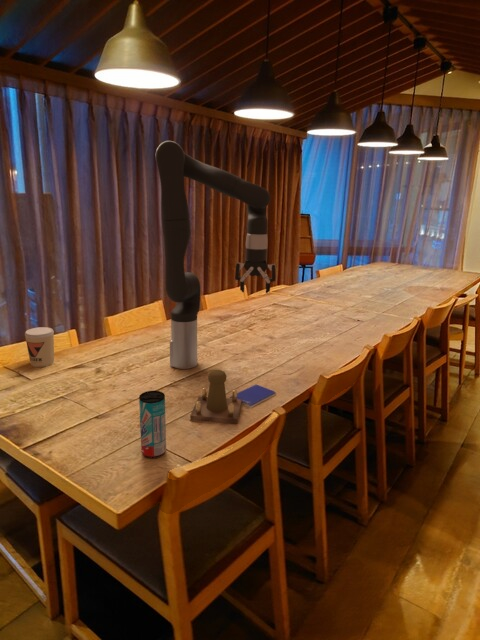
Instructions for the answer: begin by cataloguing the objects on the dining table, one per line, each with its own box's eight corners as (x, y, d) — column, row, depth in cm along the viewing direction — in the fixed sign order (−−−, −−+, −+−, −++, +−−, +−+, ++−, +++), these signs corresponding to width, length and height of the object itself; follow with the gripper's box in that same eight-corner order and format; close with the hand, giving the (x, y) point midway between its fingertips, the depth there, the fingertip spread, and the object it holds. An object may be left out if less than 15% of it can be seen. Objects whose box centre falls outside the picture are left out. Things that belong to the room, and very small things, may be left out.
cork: (203, 403, 131) (203, 368, 128) (223, 400, 133) (223, 366, 130) (210, 413, 125) (210, 377, 122) (230, 410, 128) (231, 374, 125)
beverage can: (145, 444, 112) (143, 389, 108) (168, 446, 112) (167, 391, 107) (138, 458, 107) (135, 400, 102) (162, 460, 106) (161, 402, 102)
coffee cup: (22, 365, 158) (18, 332, 155) (41, 356, 167) (38, 325, 163) (43, 369, 155) (39, 336, 152) (62, 360, 164) (59, 328, 160)
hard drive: (250, 404, 132) (275, 391, 141) (229, 396, 137) (255, 383, 146) (250, 409, 133) (275, 396, 142) (229, 400, 138) (255, 388, 147)
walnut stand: (190, 420, 124) (190, 404, 123) (198, 400, 136) (198, 385, 134) (237, 424, 123) (237, 407, 122) (241, 403, 135) (241, 388, 133)
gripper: (277, 246, 159) (275, 291, 164) (237, 244, 161) (236, 289, 165) (276, 249, 152) (274, 295, 157) (234, 247, 154) (233, 293, 158)
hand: (254, 292), depth 161 cm, fingers open, 8 cm apart
